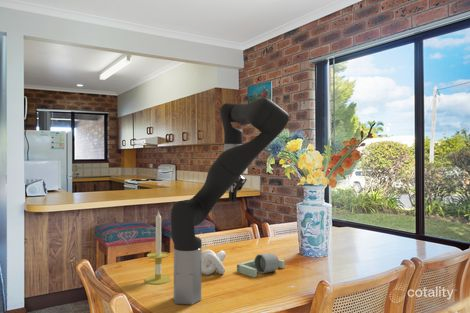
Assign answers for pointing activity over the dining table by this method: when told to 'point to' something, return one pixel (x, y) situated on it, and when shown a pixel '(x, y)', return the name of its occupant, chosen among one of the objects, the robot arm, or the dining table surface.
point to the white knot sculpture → (212, 262)
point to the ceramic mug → (266, 263)
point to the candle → (158, 257)
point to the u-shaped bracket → (250, 269)
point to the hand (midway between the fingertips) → (232, 201)
